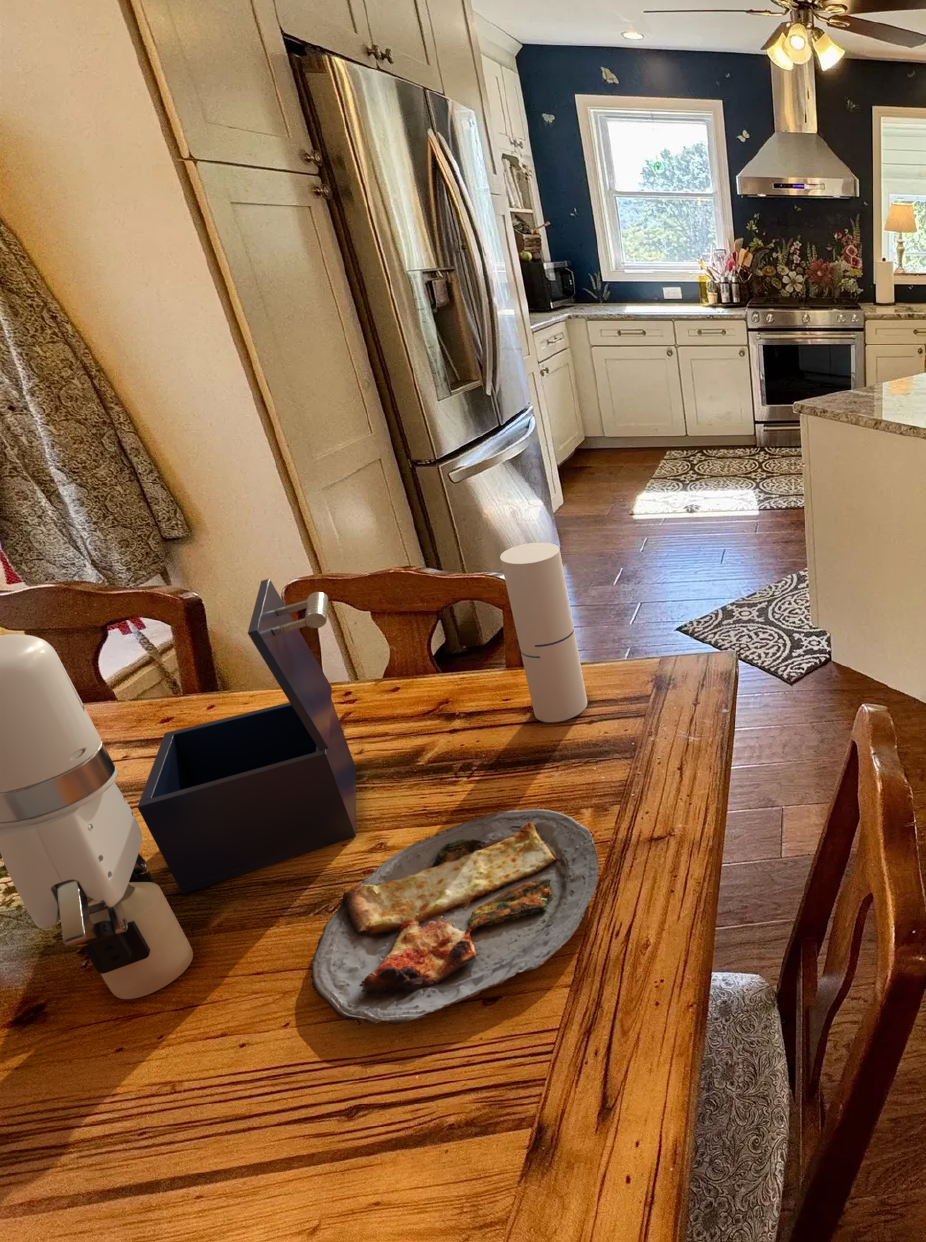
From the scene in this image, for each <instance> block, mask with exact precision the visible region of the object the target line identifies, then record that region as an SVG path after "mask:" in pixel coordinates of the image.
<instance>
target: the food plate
mask: <svg viewBox="0 0 926 1242" xmlns="http://www.w3.org/2000/svg"><path fill="white" fill-rule="evenodd" d="M599 863H600V860H599V855H598V852H597V849H596V845H595V842H594V838H593V836H592V833H591V831H590V829H589V828H588V827H586V825H583V824H582V823H580V822H577V821H576V819H574V818H573V817H572V816H569V815H566V814H564V813H562V812H559V811H556V810H554V811H553V810H551V809H542V808H529V809H521V810H520V809H519V810H517V809H516V810H508V809H507V810H502V811H496V812H492V813H488V814H485V815H482V816H480V817H476V818H474V819H473V818H472V819H470V820H468V821H464V822H462V823H460V824H457V825H454V826H452V827H449V828H447V829H444V830H442V831H439V832H436V833H434V834H432V836H431V835H430V836H427V837H425V838H423V839H420V840H417V841H415V842H414V843H412V844H410V845H408V846H406V847H405V848H403V849H402V850H399V851H398V852H396V853H395V854H393V855H392V856H391V857H390V858H388V859H387V860H385V861H384V863H383V862H382V863H381V864H380V865H379V866H377V868H376V869H375V870H374V871H372V872H371V873H370V875H368V876H367V877H365V878H364V879H363V880H362V881H361V882H359V884H356V885H353V886H351V887H350V889H348V890H344V891H343V894H342V901H341V904H340V906H339V907H338V909H337V910H336V911H335V913H334V914H333V915H332V916H330V918H329V920H328V921H327V922H326V924H325V925H324V927H323V929H322V934H321V935H320V937H319V938H318V941H317V946H316V950H315V952H314V955H313V958H312V961H311V974H310V978H311V985H312V989H313V990H314V991H315V994H317V996H318V997H319V998H320V999H322V1000H323V1001H324V1002H325V1003H326V1004H327V1005H328V1006H329V1007H330V1008H331V1009H332V1010H333V1011H334V1013H335V1015H336V1017H339V1018H341V1019H345V1020H346V1021H351V1022H355V1021H356V1022H357V1023H358V1024H357V1025H358V1026H361V1024H363V1023H362V1022H360V1019H362V1020H363V1021H364V1022H367V1023H368V1024H369V1025H376V1024H377V1023H380V1022H382V1021H385V1022H388V1023H387V1024H389V1025H393V1026H395V1025H399V1024H403V1023H409V1022H411V1021H413V1020H417V1019H421V1018H426V1017H427V1015H426V1014H431V1013H435V1012H437V1011H438V1010H442V1009H443V1008H445V1007H449V1006H452V1005H454V1004H456V1003H460V1002H461V1001H464V1000H467V999H469V998H473V997H474V996H477V995H479V994H480V993H481V992H482V991H484V990H486V989H490V988H492V987H495V986H497V985H501V984H503V983H504V982H505V981H507V980H508V979H510V978H512V977H514V976H515V975H517V974H519V973H523V972H526V971H532V970H534V969H538V968H539V967H540V966H542V965H543V964H545V962H546V961H548V960H549V959H551V958H552V956H553V955H555V953H558V951H559V950H560V949H561V948H562V947H563V946H564V945H565V944H566V943H567V942H568V941H569V940H570V939H571V938H572V937H573V935H574V934H575V932H576V931H577V930H578V929H579V927H580V923H581V922H583V921H582V919H584V917H585V912H586V909H587V907H588V906H589V904H590V902H591V900H592V898H593V896H594V894H595V891H596V888H597V886H598V879H599V872H600V868H601V867H600V865H599Z"/></svg>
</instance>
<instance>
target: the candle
mask: <svg viewBox="0 0 926 1242" xmlns="http://www.w3.org/2000/svg"><path fill="white" fill-rule="evenodd" d="M155 883H156V882H155ZM155 883H151V882H129V883H128V886H127V888H126V891H125V893H124V895H123V897H122V898H121V899H120V901H121V904H122V907H123V910H124V913H125V916H126V919H127V923H128V922H132V921H134V922H135V923H136V925H137V927H138V929H139V930H140V932H141V934H142V936H143V938H144V939H145V941H146V943H147V945H148V946H149V948H150V954H149V956H148V957H147V958H146V959H143V960H140V961H138V962H135V963H132V964H129V965H127V966H124V967H121V968H118V969H116V970H113V971H110V972H107V973H104V974H100V976H101V977H102V979H103V981H104V982H105V984H106V986H107V987H108V989H109V990H110V992H111V993H112V995H113V996H115V997H116V998H118V999H121V1000H132V999H138V998H142V997H145V996H148V995H151V994H153V993H155V992H157V991H159V990H161V989H162V988H165V987H166V986H168V985H169V984H171V983H173V982H174V981H175V980H176V979H177V978H179V977H180V976H182V974H183V973H184V972H185V971H186V970H187V969H188V967H189V966H190V965H191V963H192V961H193V958H194V951H193V948H192V946H191V944H190V942H189V939H188V938H187V936H186V935H185V933H184V929H183V928H182V927H181V924H180V923H179V921H178V918H177V917H176V915H175V913H174V911H173V910H172V908H171V906H170V904H169V902H168V901H167V898H166V896H165V894H164V893H163V890H162V889H161V886H160V885H158V884H157V883H156V884H155ZM93 902H96V900H94V899H92V900H90V901H88V904H90V903H93ZM90 920H91V921H92V922H93V923H98V922H101V921H111V920H110V917H109V914H108V911H107V909H105V910H102V911H99V912H96V913H93V914H90Z"/></svg>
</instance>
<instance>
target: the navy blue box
mask: <svg viewBox="0 0 926 1242" xmlns="http://www.w3.org/2000/svg"><path fill="white" fill-rule="evenodd" d="M144 785H145V786H144V788H143V791H142V794H141V795H140V798H139V802H138V804H137V809H138V811H139V813H140V815H141V817H142V819H143V822H144V823H145V825H146V827H147V829H148V830H149V832H150V835H151V836H152V839H153V841H154V842H155V844H156V847H157V849H158V850H159V852H160V854H161V856H162V859H163V860H164V862H165V864H166V866H167V867H168V870H169V872H170V874H171V876H172V877H173V879H174V881H175V883H176V885H177V887H178V889H179V891H180V893H181V895H186V894H189V893H192V892H194V891H197V890H200V889H204V888H206V887H209V886H212V885H216V884H219V883H221V882H224V881H227V880H230V879H234V878H236V877H239V876H242V875H245V874H248V873H252V872H254V871H256V870H259V869H263V868H266V867H268V866H272V865H275V864H277V863H281V862H284V861H286V860H289V859H293V858H296V857H298V856H301V855H305V854H307V853H310V852H313V851H316V850H319V849H322V848H325V847H328V846H331V845H333V844H336V843H339V842H343V841H346V840H348V839H349V840H350V839H351V838H354V837H356V836H357V767H356V765H355V761H354V758H353V756H352V753H351V750H350V747H349V744H348V741H347V739H346V736H345V733H344V730H343V727H342V724H341V722H340V719H339V716H338V713H337V710H336V707H335V704H334V702H333V698H331V712H330V731H329V748H328V749H326V750H323V751H319V749H318V747H317V746H316V744H315V742H314V741H313V739H312V737H311V736H310V734H309V733H308V731H307V729H306V728H305V726H304V724H303V723H302V721H301V720H300V718H299V716H298V715H297V713H296V711H295V710H294V708H293V706H292V705H291V703H290V702H289V701H288V702H284V703H281V704H280V703H279V704H277V705H276V704H275V705H272V706H268V707H264V708H261V709H260V708H259V709H257V710H252V711H249V712H244V713H241V714H236V715H233V716H228V717H223V718H220V719H216V720H211V721H207V722H204V723H200V724H196V725H195V724H194V725H192V726H187V727H184V728H183V727H182V728H179V729H176V730H172V731H168V732H164V733H163V736H162V740H161V742H160V745H159V747H158V750H157V753H156V756H155V757H154V761H153V764H152V767H151V769H150V772H149V774H148V777H147V779H146V782H145V784H144Z"/></svg>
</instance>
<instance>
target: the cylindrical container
mask: <svg viewBox="0 0 926 1242" xmlns="http://www.w3.org/2000/svg"><path fill="white" fill-rule="evenodd" d="M499 558H500V563H501V568H502V572H503V577H504V581H505V586H506V591H507V596H508V599H509V605H510V609H511V612H512V613H511V614H512V618H513V624H514V627H515V632H516V637H517V641H518V646H519V650H520V656H521V660H522V664H523V669H524V673H525V678H526V682H527V686H528V691H529V696H530V697H529V698H530V700H531V701H530V702H531V705H532V709H533V716H534V717H535V718H536V719H537V720H539V721H540V722H544V723H559V722H565V721H567V720H570V719H572V718H574V717H577V716H578V715H580V714H581V713H582V712H584V711H585V709H586V708H587V706H588V698H587V692H586V687H585V681H584V680H585V679H584V676H583V671H582V670H583V669H582V665H581V659H580V653H579V648H578V642H577V637H576V632H575V627H574V620H573V615H572V609H571V604H570V599H569V592H568V587H567V582H566V576H565V571H564V566H563V559H562V554H561V548H560V546H559V545H557V544H555V543H551V542H543V541H542V542H541V541H540V542H530V543H529V542H528V543H522V544H519V545H516V546H513V547H511V548H507V549H506V550H504V551H503V552H502V553H501V554H500V555H499Z"/></svg>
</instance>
